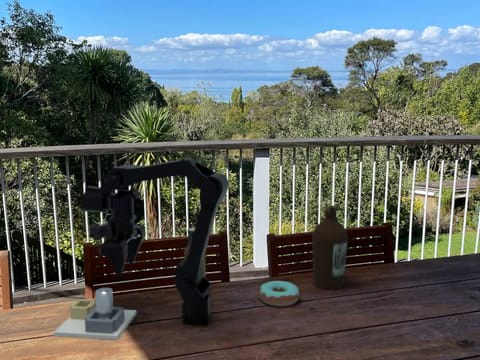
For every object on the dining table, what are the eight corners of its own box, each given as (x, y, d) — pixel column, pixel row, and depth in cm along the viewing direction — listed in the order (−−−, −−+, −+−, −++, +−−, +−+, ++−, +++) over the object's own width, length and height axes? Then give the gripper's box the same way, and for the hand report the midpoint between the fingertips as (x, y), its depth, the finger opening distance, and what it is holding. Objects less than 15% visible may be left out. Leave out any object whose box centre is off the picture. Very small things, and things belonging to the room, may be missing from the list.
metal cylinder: (115, 321, 120) (114, 287, 119) (110, 328, 116) (108, 293, 115) (100, 321, 121) (99, 287, 119) (94, 327, 117) (93, 293, 115)
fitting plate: (136, 313, 127) (135, 299, 126) (117, 339, 113) (116, 324, 112) (80, 310, 129) (79, 296, 128) (54, 336, 115) (53, 320, 114)
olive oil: (304, 283, 147) (306, 206, 143) (324, 275, 155) (326, 201, 150) (332, 293, 140) (335, 212, 136) (352, 284, 147) (355, 206, 143)
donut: (253, 293, 140) (253, 281, 139) (290, 289, 144) (290, 277, 143) (266, 311, 129) (266, 297, 128) (306, 305, 132) (306, 292, 132)
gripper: (107, 204, 133) (109, 257, 136) (77, 221, 115) (81, 281, 118) (145, 205, 132) (147, 258, 135) (121, 223, 114) (123, 283, 117)
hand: (125, 269), depth 126 cm, fingers open, 9 cm apart
